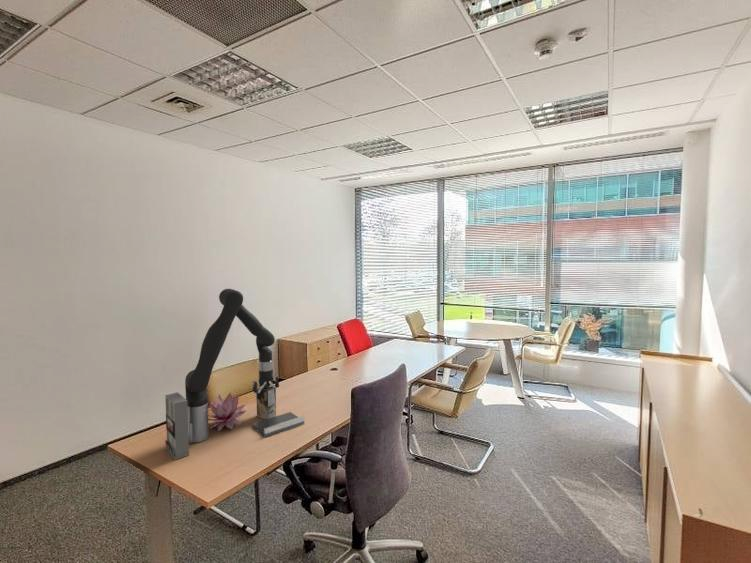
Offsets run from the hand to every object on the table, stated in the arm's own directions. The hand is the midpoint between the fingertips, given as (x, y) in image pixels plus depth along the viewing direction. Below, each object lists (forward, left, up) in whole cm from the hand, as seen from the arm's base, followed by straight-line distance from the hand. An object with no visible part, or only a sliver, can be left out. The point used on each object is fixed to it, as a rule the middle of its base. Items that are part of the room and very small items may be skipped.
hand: (266, 397), depth 202 cm
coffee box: (0, 0, -11) cm, 11 cm away
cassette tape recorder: (-47, -9, -11) cm, 49 cm away
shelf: (0, -14, -11) cm, 18 cm away
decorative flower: (-22, +3, -11) cm, 24 cm away
